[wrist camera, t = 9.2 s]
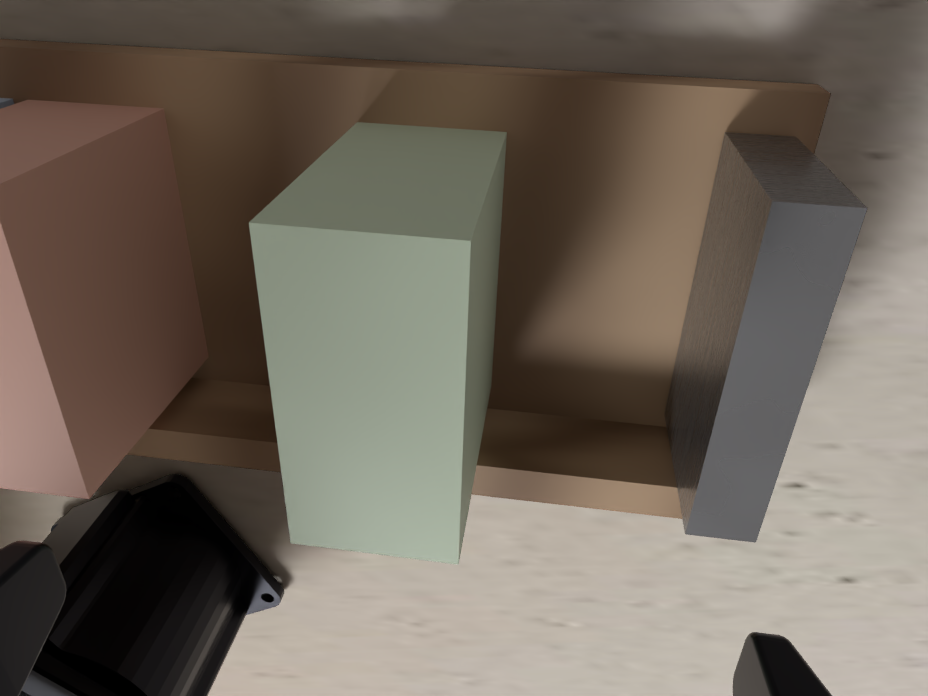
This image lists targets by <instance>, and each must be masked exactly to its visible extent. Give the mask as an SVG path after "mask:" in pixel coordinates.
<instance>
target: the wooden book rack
mask: <svg viewBox="0 0 928 696" xmlns="http://www.w3.org/2000/svg"><path fill="white" fill-rule="evenodd" d="M830 95H831V93H829V92H828V91H826V90H825V89H823V88H822V87H820V86H819V85H818V84H802V83H784V82H766V81H748V80H730V79H712V78H694V77H676V76H658V75H640V74H622V73H604V72H586V71H568V70H550V69H532V68H514V67H496V66H478V65H460V64H442V63H424V62H407V61H389V60H371V59H353V58H335V57H317V56H299V55H281V54H263V53H245V52H227V51H209V50H191V49H173V48H155V47H137V46H119V45H101V44H83V43H65V42H47V41H29V40H11V39H0V98H9V99H13V102H14V104H16V103H19V102H22V101H25V100H41V101H56V102H72V103H87V104H103V105H118V106H134V107H149V108H164V112H165V117H166V123H167V128H168V134H169V139H170V145H171V151H172V156H173V162H174V167H175V173H176V178H177V184H178V189H179V195H180V200H181V206H182V211H183V217H184V222H185V228H186V233H187V239H188V244H189V250H190V255H191V261H192V266H193V272H194V278H195V283H196V289H197V294H198V300H199V305H200V311H201V316H202V322H203V327H204V333H205V338H206V344H207V349H208V355H209V357H208V358H207V360H206V361H205V362H204V363H203V364H202V366H201V367H200V368H199V369H198V370H197V371H196V373H195V374H194V375H193V376H192V377H191V379H190V380H189V381H188V382H187V383H186V385H185V386H184V387H183V388H182V389H181V391H180V392H179V393H178V394H177V395H176V396H175V398H174V399H173V400H172V401H171V402H170V404H169V405H168V406H167V407H166V408H165V410H164V411H163V412H162V413H161V414H160V416H159V417H158V418H157V419H156V420H155V421H154V423H153V424H152V425H151V426H150V427H149V429H148V430H147V431H146V432H145V433H144V435H143V436H142V437H141V438H140V439H139V441H138V442H137V443H136V444H135V445H134V446H133V448H132V449H131V450H130V451H129V452H128V455H136V456H145V457H154V458H162V459H171V460H180V461H188V462H197V463H205V464H214V465H223V466H231V467H240V468H249V469H257V470H266V471H275V472H281V466H280V458H279V451H278V443H277V435H276V428H275V420H274V412H273V405H272V397H271V389H270V382H269V374H268V366H267V359H266V351H265V344H264V336H263V328H262V321H261V313H260V305H259V298H258V290H257V282H256V275H255V267H254V259H253V252H252V244H251V236H250V229H249V222H250V221H251V220H252V219H253V218H254V217H255V216H256V215H258V214H259V213H260V212H261V211H262V210H263V209H264V208H265V207H266V206H267V205H268V204H269V203H271V202H272V201H273V200H274V199H275V198H276V197H277V196H278V195H279V194H280V193H281V192H282V191H283V190H285V189H286V188H287V187H288V186H289V185H290V184H291V183H292V182H293V181H294V180H295V179H296V178H297V177H299V176H300V175H301V174H302V173H303V172H304V171H305V170H306V169H307V168H308V167H309V166H310V165H311V164H313V163H314V162H315V161H316V160H317V159H318V158H319V157H320V156H321V155H322V154H323V153H324V152H326V151H327V150H328V149H329V148H330V147H331V146H332V145H333V144H334V143H335V142H336V141H337V140H338V139H340V138H341V137H342V136H343V135H344V134H345V133H346V132H347V131H348V130H349V129H350V128H351V127H352V126H354V125H355V124H356V123H357V122H363V123H378V124H393V125H408V126H423V127H438V128H453V129H468V130H483V131H498V132H507V138H506V154H505V170H504V186H503V203H502V219H501V235H500V252H499V268H498V284H497V300H496V317H495V333H494V349H493V366H492V382H491V390H490V396H489V401H488V406H487V412H486V417H485V423H484V428H483V433H482V439H481V444H480V450H479V455H478V461H477V466H476V471H475V477H474V482H473V488H472V493H471V494H473V495H482V496H490V497H499V498H508V499H516V500H525V501H533V502H542V503H551V504H559V505H568V506H577V507H585V508H594V509H603V510H611V511H620V512H628V513H637V514H646V515H654V516H663V517H672V518H680V519H683V518H682V513H681V507H680V501H679V495H678V490H677V484H676V478H675V473H674V467H673V461H672V455H671V450H670V444H669V438H668V432H667V427H666V421H665V415H664V413H665V408H666V403H667V399H668V394H669V389H670V385H671V380H672V375H673V371H674V366H675V361H676V357H677V352H678V347H679V343H680V338H681V333H682V329H683V324H684V319H685V315H686V310H687V305H688V301H689V296H690V291H691V287H692V282H693V278H694V273H695V268H696V264H697V259H698V254H699V250H700V245H701V240H702V236H703V231H704V226H705V222H706V217H707V212H708V208H709V203H710V198H711V194H712V189H713V184H714V180H715V175H716V170H717V166H718V161H719V156H720V152H721V147H722V142H723V138H724V133H725V132H730V133H746V134H762V135H778V136H794V137H797V138H798V139H799V140H800V141H801V142H802V143H803V144H804V145H805V146H806V147H807V148H808V149H809V150H810V151H811V152H812V153H813V154H814V152H815V148H816V145H817V141H818V138H819V134H820V131H821V127H822V124H823V120H824V117H825V113H826V109H827V106H828V102H829V99H830Z"/></svg>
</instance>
